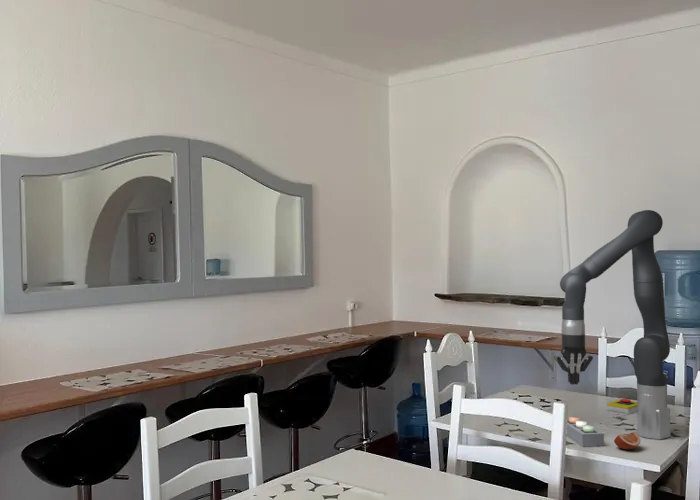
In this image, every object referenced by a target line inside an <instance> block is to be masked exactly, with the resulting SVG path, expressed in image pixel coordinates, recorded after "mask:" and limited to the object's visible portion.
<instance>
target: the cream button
mask: <svg viewBox="0 0 700 500" xmlns="http://www.w3.org/2000/svg"><path fill="white" fill-rule="evenodd" d="M587 424H588V422H587V421H585V420H582V421H576V428H578V429H580V428H583V426H584V425H587Z"/></svg>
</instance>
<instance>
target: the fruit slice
mask: <svg viewBox="0 0 700 500" xmlns="http://www.w3.org/2000/svg"><path fill="white" fill-rule="evenodd" d="M613 442H614V444H615V445H616V447H618V448H620V449H622V450H632V449H636V448H637V447H639V445H640V444H641V438H640V435H638V432H636V431H633V432H629V433H622V434H617V436H616V437H615V438H614V440H613Z"/></svg>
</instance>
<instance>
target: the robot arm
mask: <svg viewBox="0 0 700 500" xmlns="http://www.w3.org/2000/svg"><path fill="white" fill-rule="evenodd" d="M663 224H664V222H663V218H662V216H661V215H660V213H659V212H657V211H655V210H652V209H644V210H641V211H637V212H634V213H632V215H630V217H629V219H628V222H627V228H626V229H625V230H624V231H623V232H622V233H620V234H619V235H617V236H616V237H614V239H612V240H610V241H609V242H607V243H605V244H604V245H602V246H601V247H599V248H598V249H597V250H595V251H594V252H593V253H592V254H591V255H590V256H588V257H587V258H585V260H583V262H582V263H580V264H578V265H577V266H575V267H574V268H572V269H571V270H569V271H567V272H566V273H565V274H564V275H563V276H561V279H560V280H559V287H560V290H562V292H563V293H564V295H565V296H564V303H563V304H562V307H561V309H562V310H561V317H562V319H561V350H560V353H559V354H558V355H554V360H555V361H556V363H557V364H558V365H559V367H560V368H561V370H562V371H564V372H565V373H567V382H568V383H569V384H570V385H578V384H579V383H580V373H582V372H585V371H586V370H587V368H588V366H590V364H591V362H592V361H593V358H594V356H592V355H590V354H588V353H587V350H586V325H585V308H584V307H585V302H586V294H587V284H588V283H589V282H590V281H592V280H593V279H597V278H599V277H601V275H602V274H604V273H605V272H606V271H607V270H609V269H610V268H611V267H612V266H613V265H615V263H617V262H618V261H619V260H620V259H621V258H623V257H624V256H625V255H626V254H628V253H629V252H630V251H631V257H632V258H631V259H632V265H631V266H632V282H633V295H634V299H635V300H634V301H635V303H636V306H637V309H638V311H639V313H640V315H641V319H642V324H643V337H640V338H638V339H637V340H636V341H635V343H634V346H633V367H634V369H633V370H634V375H635V377H636V402H637V412H636V414H637V416H636V419H637V423H636V424H637V430H636V431H637V434H638V436H639V437H642V438H648V439H653V440H654V439H655V440H663V439H667V438H671V408H670V407H668V378H667V376H666V375H665V374H664V368H663V362H664V361H666V359H667V358H668V357H669V355H670V352H671V346H670V341H669V340H670V339H669V336H668V329H667V328H668V327H667V324H666V323H667V321H666V311H665V310H666V309H665V308H666V307H665V289H664V277H663V274H662V270H661V267H660V265H659V262H658V260H657V257H656V254H655V253H656V252H655V248H654V247H655V245H654V244H655V243H654V242H655V241H654V239H655V237H654V236H656V235H658V234H659V233H660V232H661V230H662V228H663ZM564 360H565V362H566V363H565V362H564Z"/></svg>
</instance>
